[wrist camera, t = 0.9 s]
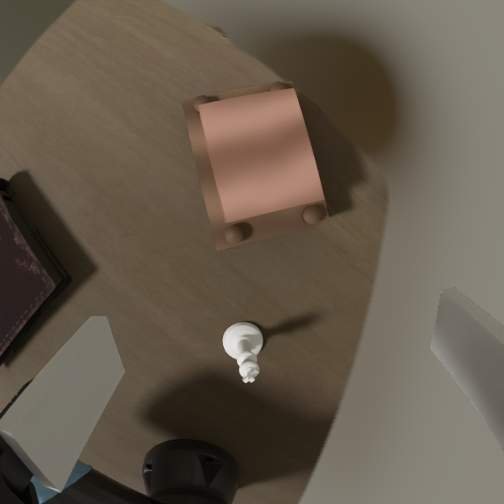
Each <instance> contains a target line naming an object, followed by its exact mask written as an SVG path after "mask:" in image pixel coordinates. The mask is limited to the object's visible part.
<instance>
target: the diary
mask: <svg viewBox="0 0 504 504" xmlns="http://www.w3.org/2000/svg"><path fill="white" fill-rule="evenodd" d="M9 184H10V182H9V181H7V180H5V179H2V178H0V365H1V364H2V363H3V361H4V360H5V359H6V358H7V356H8V355H9V354H10V352H11V351H14V352H15V351H16V349H17V346H18V344H19V341H20V340H21V338H22V337H23V336H24V335H25V333H26V332H27V331H28V330H29V329H30V328H31V326H32V325H33V324H34V323H35V322H36V320H37V319H38V318H39V317H40V316H41V315H42V314H41V313H40V311H41V310H42V308H43V307H45V306H46V305H47V304H49V303H50V302H51V301H53V300H54V299H55V298H56V297H57V296H58V295H59V294H60V293H61V292H62V291H63V290H64V289H65V288H66V287H67V286H68V285H69V284H70V283H71V282H72V281H73V279H72V278H71V277H70V276H69V274H68V273H67V272H66V270H65V269H64V268H63V266H62V265H61V263H60V262H59V261H58V259H57V258H56V257H55V255H54V254H53V252H52V251H51V250H50V248H49V247H48V245H47V244H46V242H45V241H44V239H43V238H42V236H41V235H40V233H39V232H38V230H37V229H36V231H35V232H34V233H32V231H31V230H30V228H29V227H28V225H27V223H26V222H25V220H24V218H23V217H22V215H21V213H20V212H19V210H18V208H17V206H16V205H15V203H14V202H11V201H10V200H11V199H12V197H13V196H12V197H11V196H10V195H9V194H7V193H6V192H5V189H6V188H7V187H8V186H9ZM14 194H15V193H14ZM14 194H13V195H14Z"/></svg>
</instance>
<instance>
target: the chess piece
mask: <svg viewBox="0 0 504 504" xmlns="http://www.w3.org/2000/svg"><path fill="white" fill-rule="evenodd" d="M262 344H263V337H262V334H261V332H260V330H259V329H258V328H257V327H256V326H255V325H253V324H251V323H247V322H240V323H236V324H234V325H232V326H230V327H229V328H228V329H227V330H226V332H225V334H224V336H223V346H224V348H225V350H226V352H227V353H228V354H229V355H230V356H231V357H233V358H235V359H237V363H238V365H239V366H240V368H239V372H240V374H241V376H242V377H244V378H242V379H243V381H244V382H245V383H247V382H248V381H250V382H251V383H252V382H253V381H254V380H255V378H254V377H256V376H257V375H258V374H259V366H258V364H257V363H256V362H257V357H256V355H257V354H258V353H259V352H260V350H261V348H262Z"/></svg>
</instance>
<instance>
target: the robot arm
mask: <svg viewBox="0 0 504 504" xmlns="http://www.w3.org/2000/svg"><path fill="white" fill-rule="evenodd" d="M430 348H431V350H432V351H433V352H434V353H435V355H436V356H437V357H438V359H439V360H440V361H441V363H442V364H443V365H444V366H445V368H446V369H447V370H448V372H449V373H450V374H451V376H452V377H453V378H454V379H455V381H456V382H457V384H458V385H459V386H460V388H461V389H462V391H463V392H464V393H465V395H466V396H467V397H468V399H469V400H470V402H471V403H472V404H473V406H474V407H475V409H476V410H477V411H478V413H479V414H480V416H481V417H482V419H483V420H484V422H485V423H486V425H487V426H488V428H489V429H490V431H491V432H492V434H493V435H494V436H495V438H496V440H497V441H498V443H499V444H500V446H501V447H502V449H503V451H504V326H503V325H502V324H501V323H500V322H498V321H497V320H496V319H495V318H493V317H492V316H491V315H490V314H489V313H487V312H486V311H485V310H484V309H482V308H481V307H480V306H479V305H477V304H476V303H475V302H474V301H472V300H471V299H470V298H469V297H467V296H466V295H465V294H463V293H462V292H461V291H459V290H458V289H457V288H456V287H455V288H449V289H443V290H441V293H440V300H439V306H438V311H437V317H436V322H435V327H434V332H433V337H432V341H431V346H430ZM124 373H125V370H124V367H123V365H122V362H121V359H120V356H119V353H118V350H117V347H116V345H115V342H114V338H113V335H112V332H111V329H110V326H109V323H108V319H107V316H91V317H90V318H89V319H88V320H87V321H86V322H85V323H84V324H83V325H82V326H81V327H80V328H79V330H78V331H77V332H76V333H75V334H74V335H73V336H72V337H71V338H70V339H69V340H68V341H67V342H66V343H65V345H64V346H63V347H62V348H61V349H60V350H59V351H58V352H57V353H56V354H55V356H54V357H53V358H52V359H51V360H50V361H49V362H48V363H47V365H46V366H45V367H44V368H43V369H42V370H41V371H40V372H39V374H38V375H37V376H36V377H35V378H33V379H32V380H30V381H29V382H27V383H26V384H25V385H24V386H23V387H22V388H21V389H20V391H19V392H18V393H17V395H15V396H14V398H13V399H12V400H11V403H10V402H9V404H8V405H7V406H6V407H5V408H4V410H3V411H2V412H1V413H0V504H232V502H233V500H234V497H235V494H236V492H237V489H238V486H239V471H238V466H237V464H236V462H235V460H234V459H233V458H232V457H231V456H230V455H229V454H228V453H226V452H225V451H223V450H222V449H220V448H218V447H216V446H213V445H210V444H207V443H204V442H199V441H192V440H175V441H169V442H165V443H162V444H159V445H157V446H155V447H154V448H152V449H151V450H150V451H149V452H148V453H147V455H146V457H145V460H144V464H143V468H142V475H143V479H144V484H145V488H146V492H147V496H146V495H144V494H142V493H140V492H137V491H135V490H133V489H131V488H129V487H127V486H125V485H123V484H121V483H119V482H117V481H115V480H113V479H111V478H109V477H108V476H106V475H104V474H102V473H100V472H99V471H97V470H95V469H93V467H92V466H91V465H86V464H84V463H83V462H81V461H79V460H78V458H79V456H80V454H81V452H82V450H83V448H84V446H85V444H86V442H87V441H88V439H89V437H90V435H91V433H92V431H93V429H94V427H95V425H96V424H97V422H98V420H99V418H100V416H101V414H102V413H103V411H104V409H105V407H106V405H107V403H108V402H109V400H110V398H111V396H112V394H113V393H114V391H115V389H116V387H117V386H118V384H119V382H120V380H121V378H122V377H123V375H124Z"/></svg>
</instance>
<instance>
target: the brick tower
mask: <svg viewBox="0 0 504 504" xmlns="http://www.w3.org/2000/svg"><path fill="white" fill-rule="evenodd" d="M182 105H183V109H184V114H185V119H186V123H187V128H188V132H189V137H190V141H191V145H192V150H193V154H194V158H195V163H196V167H197V171H198V175H199V180H200V184H201V188H202V192H203V196H204V200H205V204H206V208H207V212H208V216H209V220H210V224H211V228H212V232H213V236H214V240H215V244H216V248H217V251H219V250H223V249H227V248H230V247H234V246H238V245H242V244H246V243H250V242H254V241H258V240H262V239H266V238H270V237H274V236H277V235H281V234H285V233H289V232H293V231H297V230H301V229H305V228H309V227H313V226H317V225H321V224H325V223H329V222H330V219H329V214H328V210H327V206H326V201H325V197H324V193H323V189H322V184H321V180H320V176H319V172H318V168H317V165H316V161H315V157H314V153H313V149H312V146H311V142H310V138H309V135H308V131H307V128H306V124H305V121H304V118H303V114H302V111H301V107H300V104H299V101H298V98H297V94H296V91H295V88H294V85H293V82H292V81H287V82H275V83H272V84H265V85H258V86H252V87H246V88H241V89H235V90H230V91H225V92H220V93H215V94H211V95H206V96H205V95H202V96H198V97H197V98H193V99H189V100H185V101H182Z"/></svg>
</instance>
